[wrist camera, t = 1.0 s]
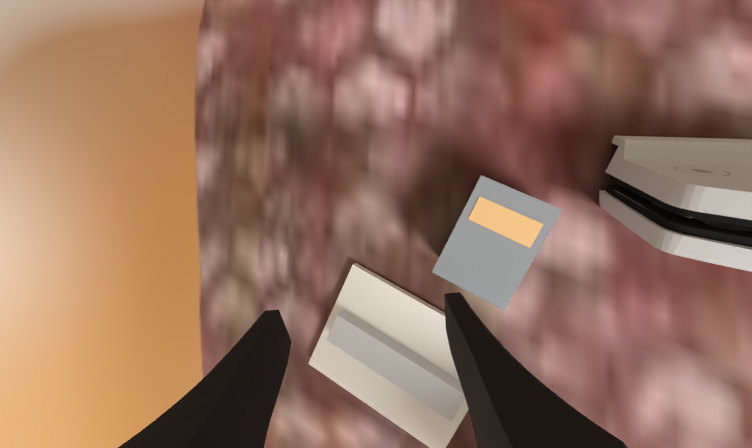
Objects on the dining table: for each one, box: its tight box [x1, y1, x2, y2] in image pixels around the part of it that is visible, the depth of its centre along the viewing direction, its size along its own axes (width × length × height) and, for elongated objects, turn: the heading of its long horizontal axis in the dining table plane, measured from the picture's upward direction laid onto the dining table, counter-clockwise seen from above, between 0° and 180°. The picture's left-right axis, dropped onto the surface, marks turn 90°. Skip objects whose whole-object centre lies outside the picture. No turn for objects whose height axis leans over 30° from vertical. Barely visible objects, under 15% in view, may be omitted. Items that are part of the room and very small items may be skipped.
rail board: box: [308, 263, 503, 448], centre depth 26 cm, size 14×11×2 cm
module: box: [432, 175, 562, 310], centre depth 21 cm, size 5×7×6 cm
